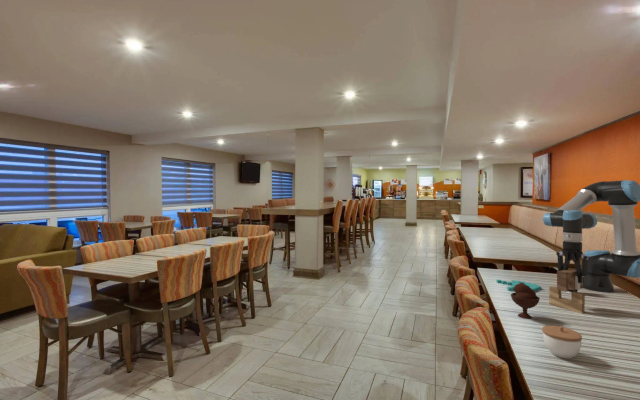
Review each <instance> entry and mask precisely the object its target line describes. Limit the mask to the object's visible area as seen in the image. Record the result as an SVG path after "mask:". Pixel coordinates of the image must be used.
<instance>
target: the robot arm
mask: <svg viewBox="0 0 640 400" xmlns="http://www.w3.org/2000/svg"><path fill="white" fill-rule="evenodd" d="M596 202H607V203H608V206H609V207H611V209H612V212H611V213H612V225H613V239H614V249H613V250H611V252H610V250H604V249H603V250H602V249H599V250H598V249H593V250H592V249H591V250H585V251H584V252H583V242H582V241H583V230H584V229H587V230H589V229H593V228H595V227H596V226H597V224H598V219H597V217H596V216H595V215H594V214H591V213H583V212H582V210H584V209H585V208H586V207H587V206H588V205H593V204H594V203H596ZM638 202H640V184H639V182H637V181H635V180H630V179H629V180H626V179H623V180H610V181H597V182H594V183H591V184H589V185H587V186H583V188H581V189H580V190H579V191H578V192H577V193H576V195H575V196H574V197H572V198H570V200H569V201H567V202H565V204H563V205H561V206H560V207H559V208H557V209H556V210H555V211H554V212H545V213H544V214H543V216H542V221H543V222H542V223H543V224H544V226H547V227H555V228H562V240H563V241H562V251H557V252H556V253H555V254H556V257H557V271H562V270H569V267H570V263H571V261H573V263H574V267H575V268H574V269H576V272H577V275H576V276H575V289H576V290H578V291H579V290H581V289H580V283H582V277H583V288H582V289H585V290H590V291H594V292H604V293H613V292H614V289H615V286H614V285H613V283H612V279H611V277H610V276H611V275H617V276H621V277H622V276H623V277H627V278H635V279H639V278H640V252H639V251H638V250H637V239H636V221H635V207H636V206H638ZM581 259H582V260H581Z"/></svg>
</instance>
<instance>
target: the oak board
mask: <svg viewBox="0 0 640 400" xmlns="http://www.w3.org/2000/svg"><path fill="white" fill-rule="evenodd" d="M548 291H549V293H548V294H549V297H548V298H549V300H548V301H549V305H551V306H555V307H556V308H557V307H558V308H561V309H565V310H569V311H572V312H576V313H580V314H585V311H586V309H585V304H586V303H585V302H586V300H585V299H586V297H585V296H586V295H585V293H582V292H580V291H578V292H575V291H574V292H571V293H570V294H571V299H568V298H564V297H562V291H561V290H557V286H553V285H551V286H549V289H548Z"/></svg>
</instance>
